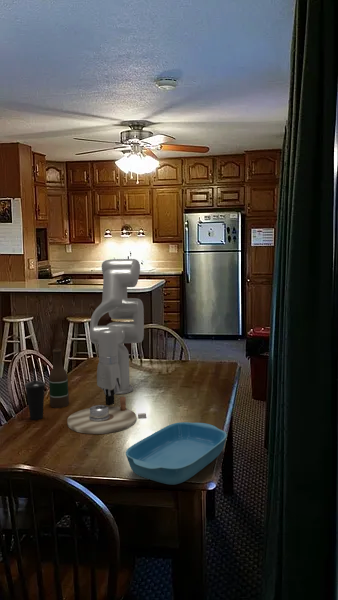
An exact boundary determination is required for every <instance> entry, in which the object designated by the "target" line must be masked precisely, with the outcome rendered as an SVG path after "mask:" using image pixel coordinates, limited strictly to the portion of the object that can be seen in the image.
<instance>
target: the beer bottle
mask: <svg viewBox="0 0 338 600" xmlns="http://www.w3.org/2000/svg"><path fill="white" fill-rule="evenodd" d="M62 352H63V351H62V349H61V348H54V349H52V354H53V355H52V356H53V357H52V359H53V360H52V369H51V370H50V373H49V376H48V386H49V389H48V390H49V403H50V407H51V408H54V409H62V408H65V407H68V406H69V403H70V402H69V401H70V398H69V397H70V396H69V379H68V373H67V371H66V370H65V369H64V366H63V359H62Z"/></svg>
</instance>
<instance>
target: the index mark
mask: <svg viewBox="0 0 338 600" xmlns="http://www.w3.org/2000/svg"><path fill="white" fill-rule="evenodd" d="M137 418H138V419H147V413H146V412H143V413H137Z"/></svg>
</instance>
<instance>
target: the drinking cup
mask: <svg viewBox="0 0 338 600" xmlns="http://www.w3.org/2000/svg"><path fill="white" fill-rule="evenodd" d="M32 370H33V380H31V381H29V382H26V383H25V384H24V387H25V391H26V397H27V404H28V405H27V406H28V411H29V417H30V420H31V421H37V420H38V421H40V420H42V419H43V418H44V404H45V403H44V402H45V401H44V400H45V385H46V383H45V382H44V381H42V380H36V368H35V367H33V369H32Z"/></svg>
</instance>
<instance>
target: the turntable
mask: <svg viewBox="0 0 338 600" xmlns="http://www.w3.org/2000/svg"><path fill="white" fill-rule="evenodd" d="M126 398H127V397H126V396H120V397H119V405H120V406H113V405H109V406H108V405H107V406H108V410H109V416H110V418H109V419H108V420H106V421H101V422H95V421H91V420H90V419H89V416H90V407H88V408H84V409H81V410H78V411H75V412H73V413H72V414H70V415H69V416H68V417H67V420H66V421H67V427H68V428H69V429H70V430H71V431H74V432H77V433H81V434H87V435H88V434H89V435H102V434H103V435H104V434H111V433H116V432H120V431H124V430H126V429H129V428H131V427H132V426H134V424H136V422H137V415H136V412H134V411H133V410H131V409H129V408H127V404H126V403H127V401H126Z"/></svg>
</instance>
